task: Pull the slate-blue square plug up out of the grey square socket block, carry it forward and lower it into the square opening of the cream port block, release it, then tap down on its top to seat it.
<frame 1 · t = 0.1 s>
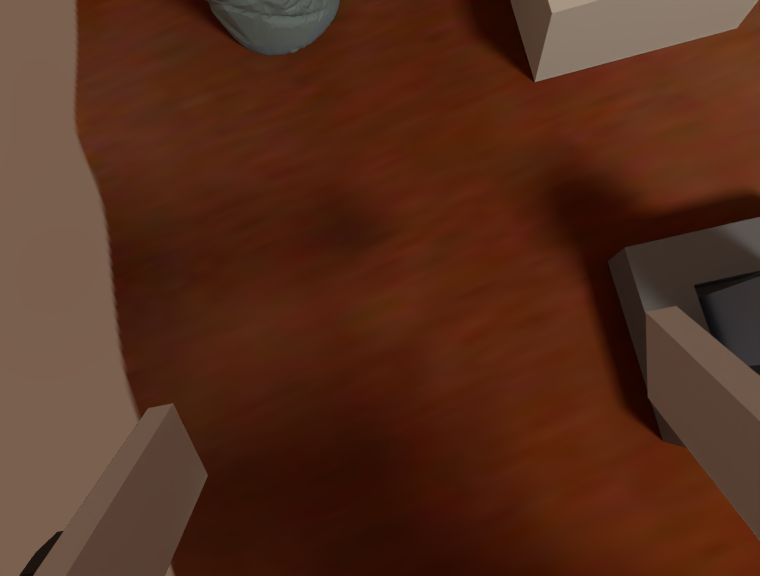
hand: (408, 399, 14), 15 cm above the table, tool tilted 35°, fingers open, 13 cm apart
plug: (737, 326, 26), point 1 cm above the table, touching grey square socket block
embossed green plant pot: (279, 4, 36), on the table
grey square socket block: (729, 328, 27), on the table
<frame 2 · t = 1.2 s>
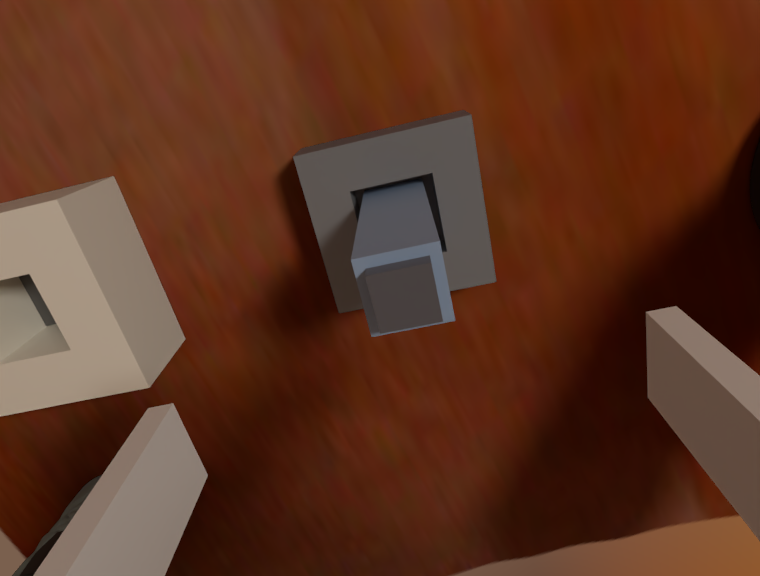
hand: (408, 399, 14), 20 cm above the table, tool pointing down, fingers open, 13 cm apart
plug: (398, 212, 32), point 1 cm above the table, touching grey square socket block
port: (71, 280, 35), on the table
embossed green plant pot: (132, 509, 44), on the table
grey square socket block: (398, 208, 32), on the table
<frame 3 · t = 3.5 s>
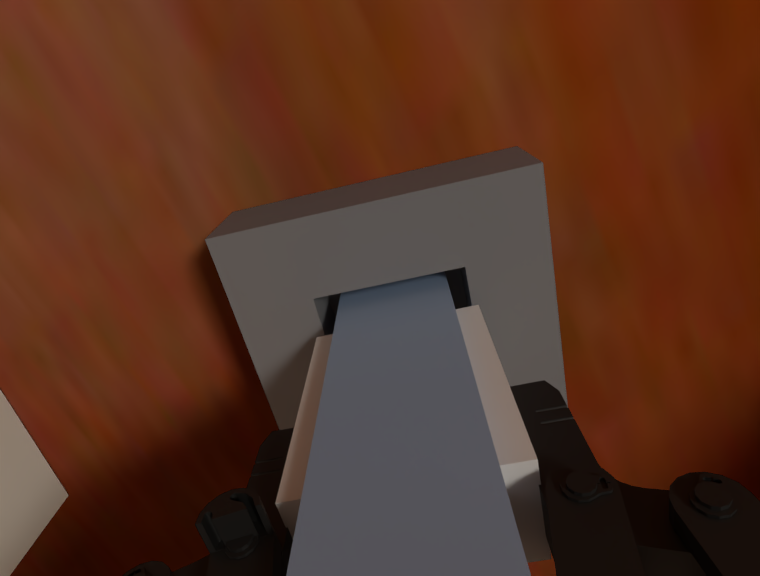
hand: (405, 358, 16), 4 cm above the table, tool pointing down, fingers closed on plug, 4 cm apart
plug: (402, 317, 19), point 1 cm above the table, touching gripper
grey square socket block: (401, 308, 19), on the table
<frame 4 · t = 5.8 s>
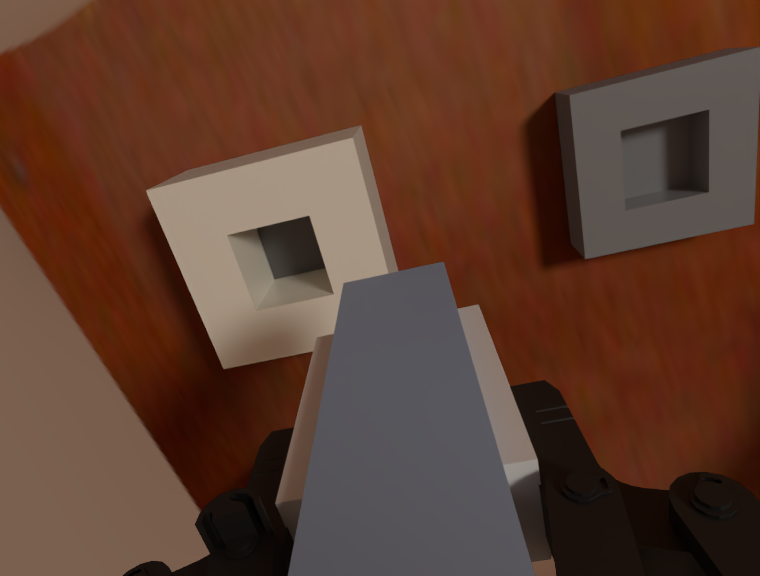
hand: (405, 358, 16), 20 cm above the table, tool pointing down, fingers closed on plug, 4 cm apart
plug: (403, 317, 18), point 17 cm above the table, touching gripper
port: (300, 234, 35), on the table
grey square socket block: (643, 153, 32), on the table
when the fingers open (7 cm above the table, at t = 8.3 s): plug drops 3 cm, resting on port.
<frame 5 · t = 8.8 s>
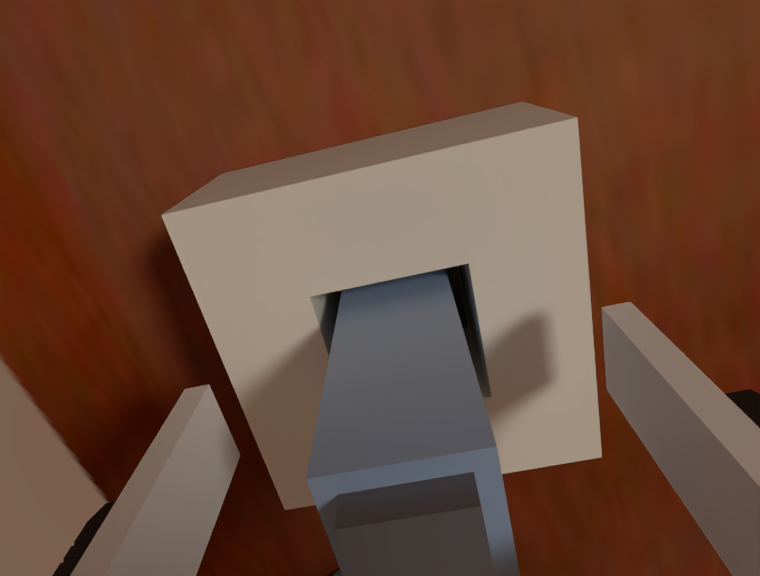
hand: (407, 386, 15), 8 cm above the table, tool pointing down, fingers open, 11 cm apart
plug: (401, 286, 21), point 1 cm above the table, touching port
port: (400, 277, 22), on the table
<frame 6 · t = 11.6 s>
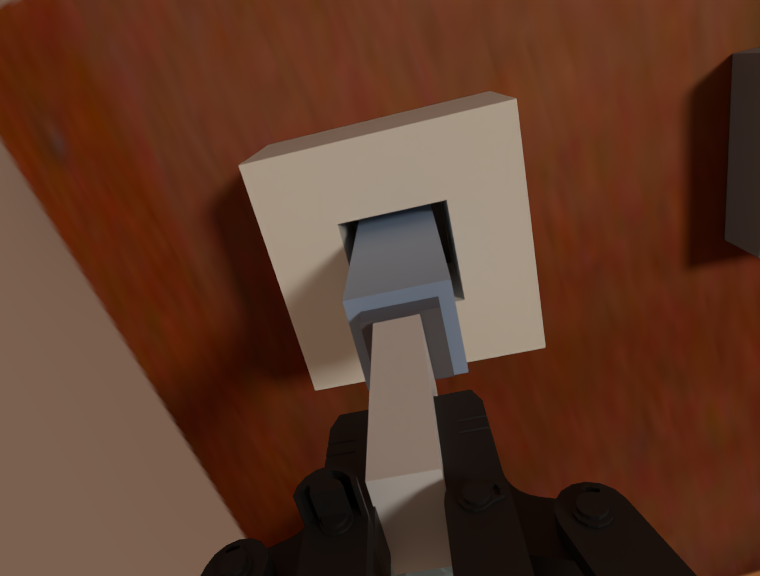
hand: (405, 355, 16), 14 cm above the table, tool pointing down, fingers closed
plug: (401, 230, 28), point 1 cm above the table, touching gripper, port
port: (400, 225, 29), on the table
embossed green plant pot: (394, 500, 38), on the table
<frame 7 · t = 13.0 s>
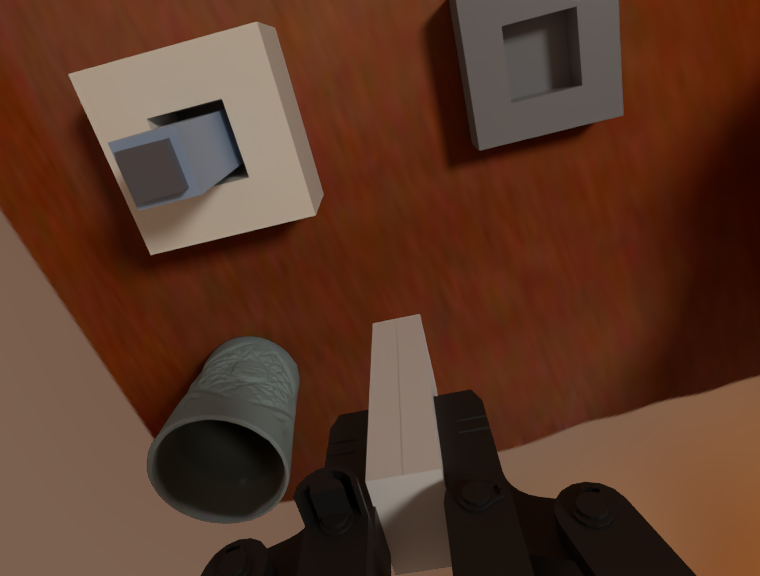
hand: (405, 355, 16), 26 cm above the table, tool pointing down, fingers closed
plug: (220, 137, 37), point 1 cm above the table, touching port
port: (224, 136, 38), on the table
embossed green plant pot: (255, 376, 47), on the table
grey square socket block: (530, 56, 36), on the table
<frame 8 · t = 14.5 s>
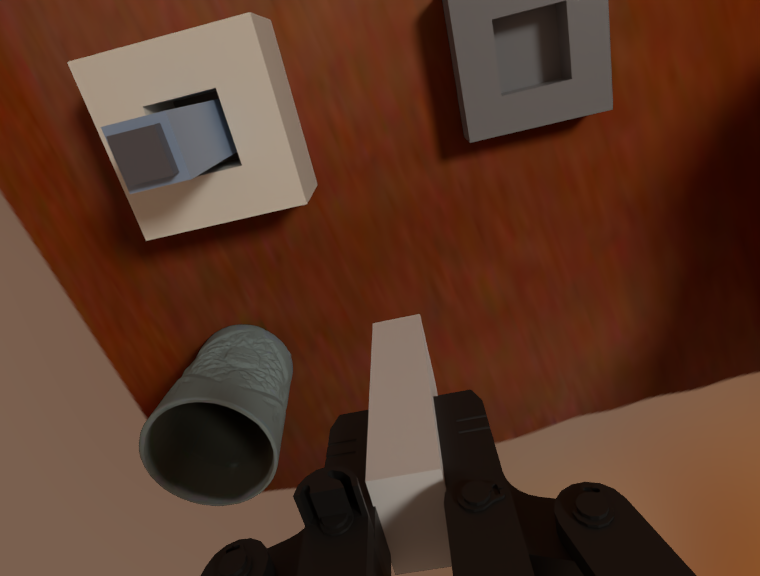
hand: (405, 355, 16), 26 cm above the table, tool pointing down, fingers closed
plug: (216, 127, 38), point 1 cm above the table, touching port
port: (220, 126, 39), on the table
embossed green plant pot: (249, 364, 48), on the table
grey square socket block: (521, 50, 36), on the table
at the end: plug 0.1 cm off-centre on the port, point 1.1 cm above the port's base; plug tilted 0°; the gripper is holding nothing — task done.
